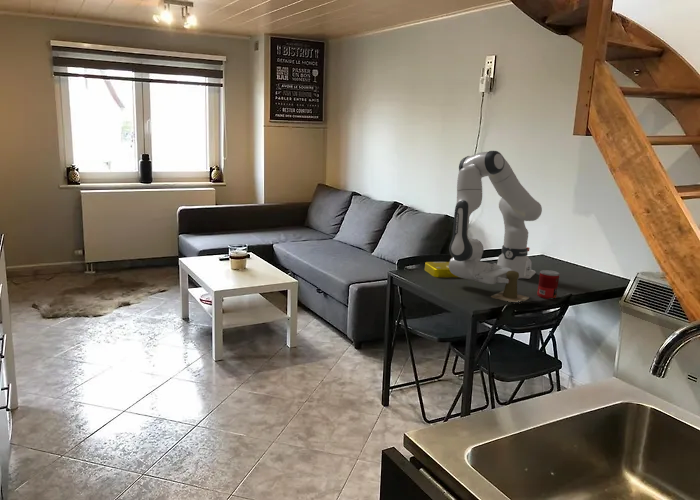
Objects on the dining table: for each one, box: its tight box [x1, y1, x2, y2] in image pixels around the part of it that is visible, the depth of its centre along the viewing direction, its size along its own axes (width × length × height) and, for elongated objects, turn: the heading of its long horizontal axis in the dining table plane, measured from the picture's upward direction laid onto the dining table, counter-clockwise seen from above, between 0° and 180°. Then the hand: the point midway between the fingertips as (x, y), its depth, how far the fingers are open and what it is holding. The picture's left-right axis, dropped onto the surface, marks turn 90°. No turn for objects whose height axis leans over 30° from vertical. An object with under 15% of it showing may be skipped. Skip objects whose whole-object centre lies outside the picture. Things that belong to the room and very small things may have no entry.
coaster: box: [490, 290, 530, 303], centre depth 245 cm, size 12×12×1 cm
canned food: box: [536, 269, 560, 300], centre depth 249 cm, size 8×8×11 cm
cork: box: [503, 271, 520, 298], centre depth 244 cm, size 6×6×11 cm
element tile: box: [424, 261, 459, 278], centre depth 280 cm, size 15×15×5 cm
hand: (513, 279), depth 243 cm, fingers open, 8 cm apart
